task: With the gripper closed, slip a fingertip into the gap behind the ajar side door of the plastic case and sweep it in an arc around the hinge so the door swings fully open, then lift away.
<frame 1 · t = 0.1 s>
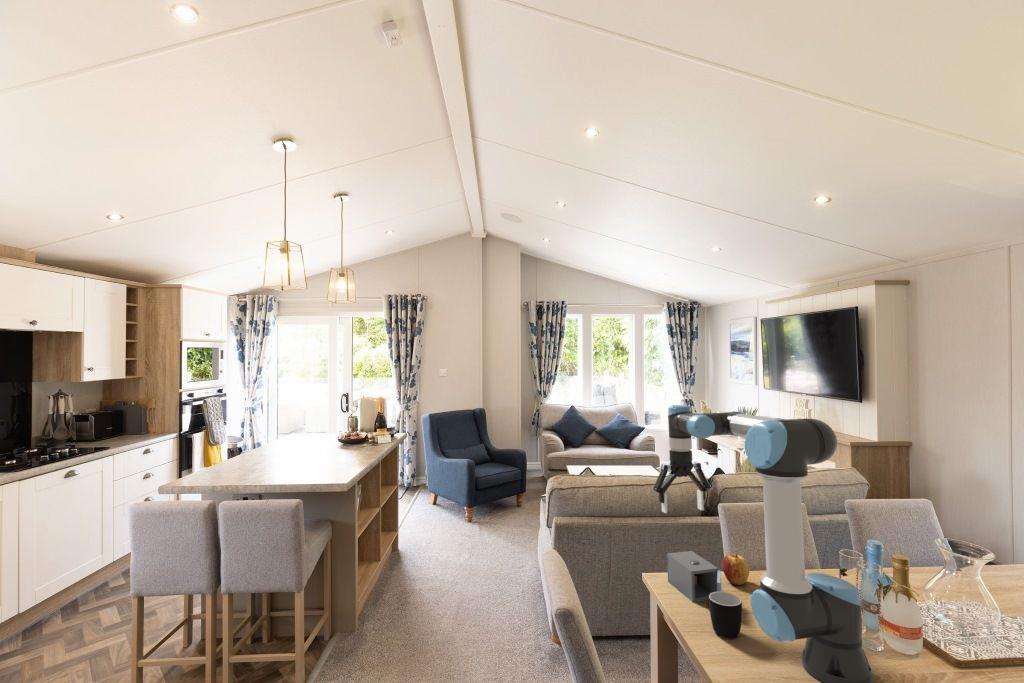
hand: (682, 510, 174), 28 cm above the table, fingers open, 13 cm apart
mug: (723, 631, 148), on the table
apple: (736, 583, 179), on the table
door: (720, 590, 163), point 5 cm above the table, hinge at 55.0°
case: (692, 589, 175), on the table
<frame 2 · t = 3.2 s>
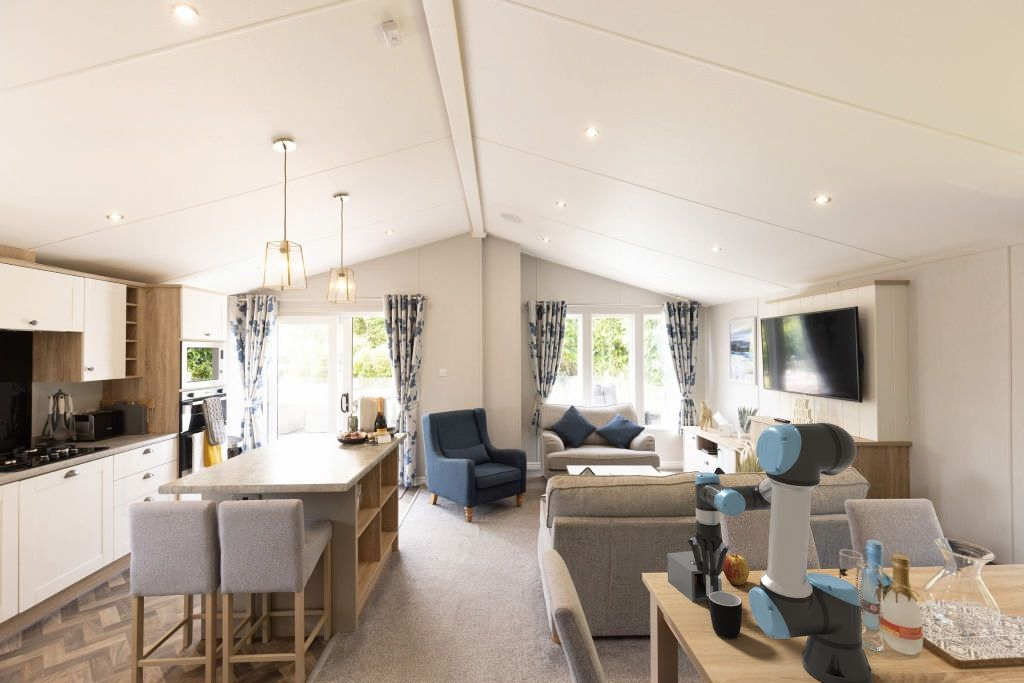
hand: (709, 594, 162), 4 cm above the table, fingers closed
door: (721, 590, 163), point 5 cm above the table, hinge at 56.9°, touching gripper
everything else where it was.
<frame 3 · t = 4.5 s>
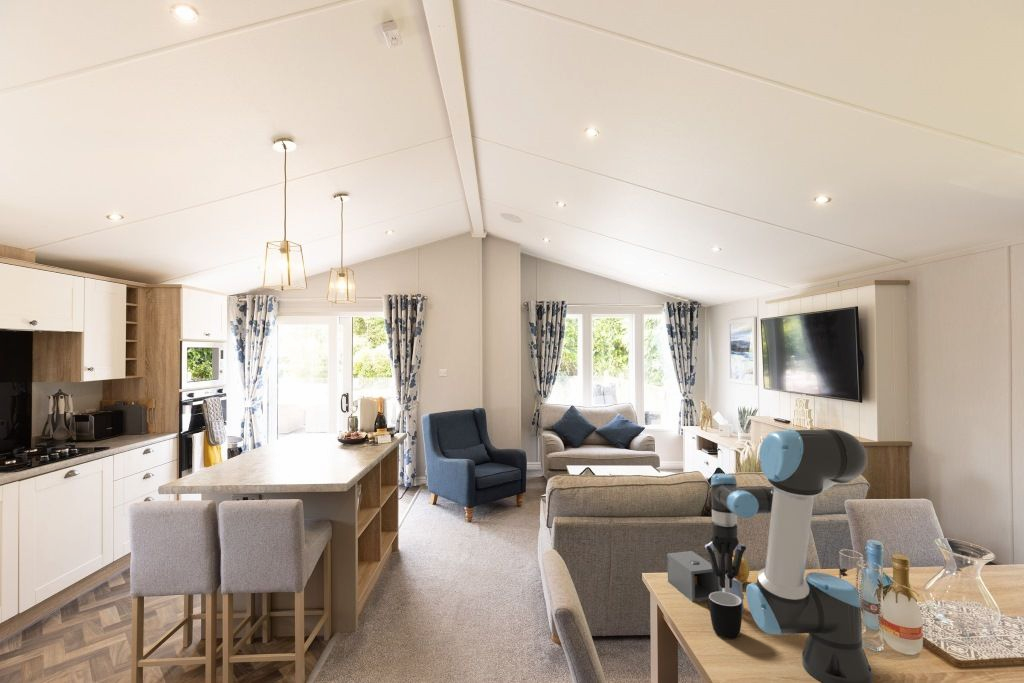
hand: (726, 597, 160), 4 cm above the table, fingers closed
door: (730, 590, 163), point 5 cm above the table, hinge at 95.2°, touching gripper
everything else where it was.
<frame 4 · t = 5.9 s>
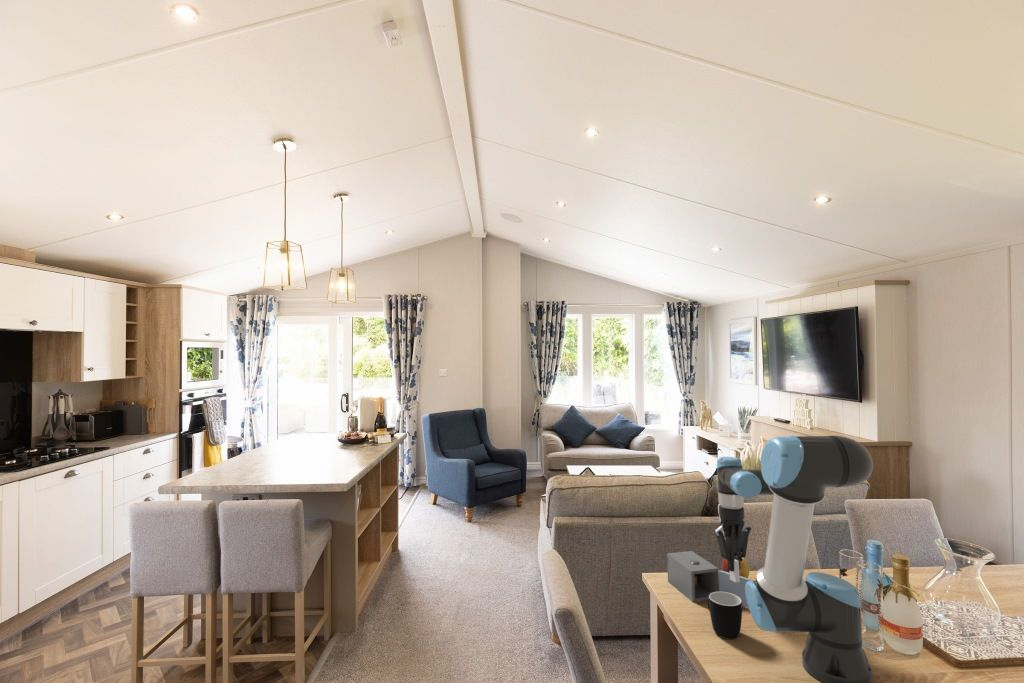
hand: (734, 580, 160), 9 cm above the table, fingers closed
door: (734, 588, 164), point 5 cm above the table, hinge at 120.4°
everything else where it was.
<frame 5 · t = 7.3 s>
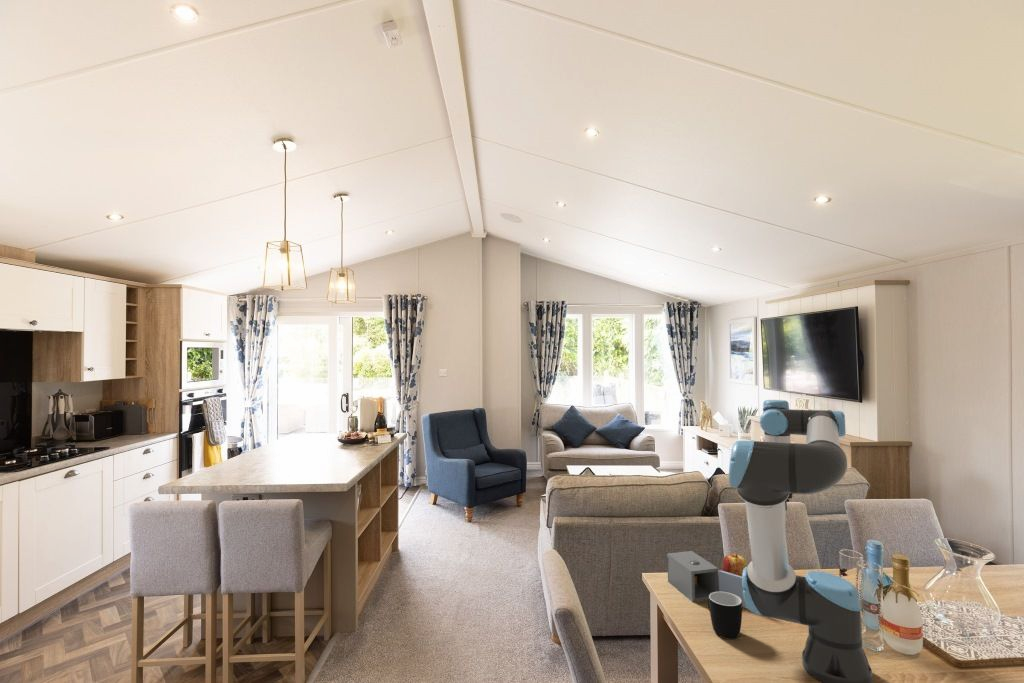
hand: (780, 521, 161), 28 cm above the table, fingers closed
nothing on the table moved.
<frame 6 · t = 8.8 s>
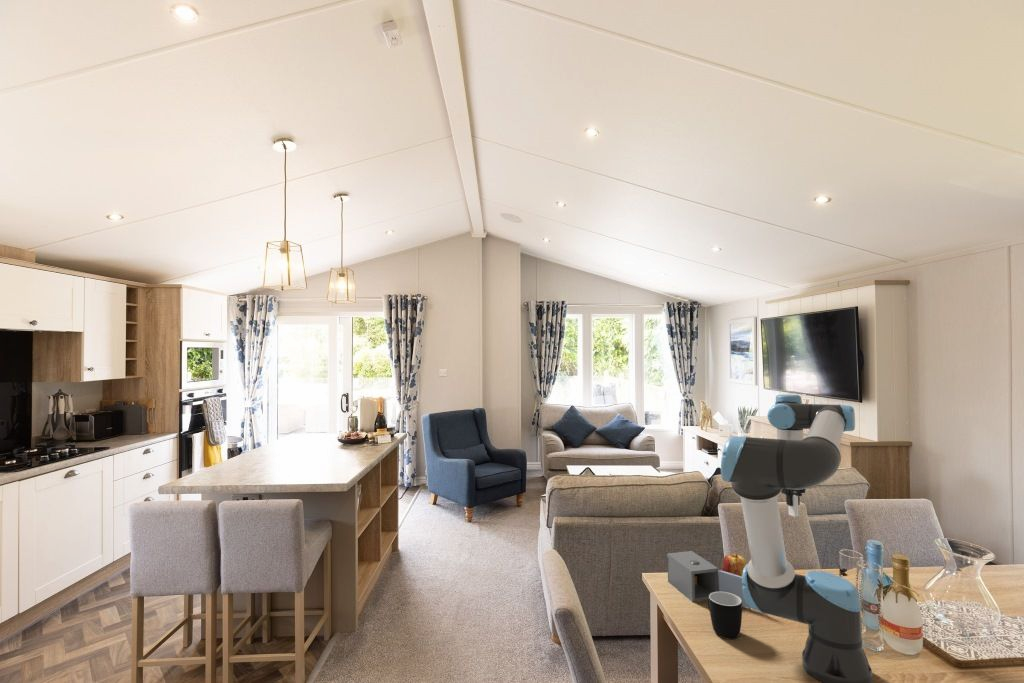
hand: (793, 515, 161), 29 cm above the table, fingers closed
nothing on the table moved.
at the end: door at +120° (first picture: +55°); door touching nothing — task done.
